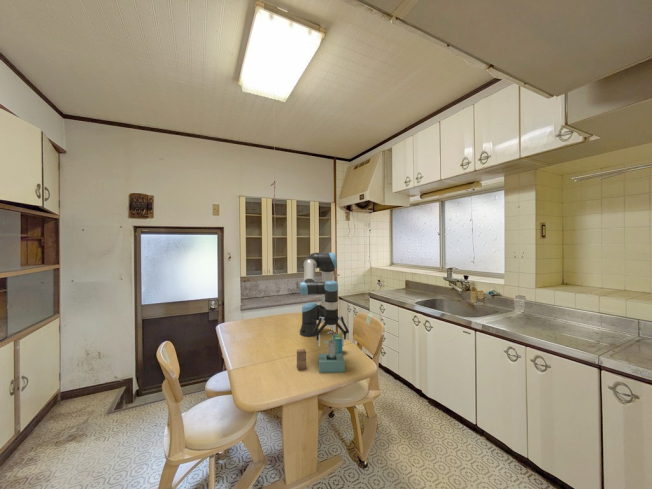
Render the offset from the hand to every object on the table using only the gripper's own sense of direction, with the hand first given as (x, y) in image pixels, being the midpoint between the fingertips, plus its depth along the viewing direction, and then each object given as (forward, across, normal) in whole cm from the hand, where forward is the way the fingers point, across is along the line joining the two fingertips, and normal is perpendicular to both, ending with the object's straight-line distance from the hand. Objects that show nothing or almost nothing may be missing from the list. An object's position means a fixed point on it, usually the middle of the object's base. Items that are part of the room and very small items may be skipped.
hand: (331, 345), depth 144 cm
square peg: (+13, -17, 0) cm, 21 cm away
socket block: (+13, 0, -1) cm, 13 cm away
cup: (+13, +5, +18) cm, 23 cm away
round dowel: (+13, 0, -1) cm, 13 cm away
